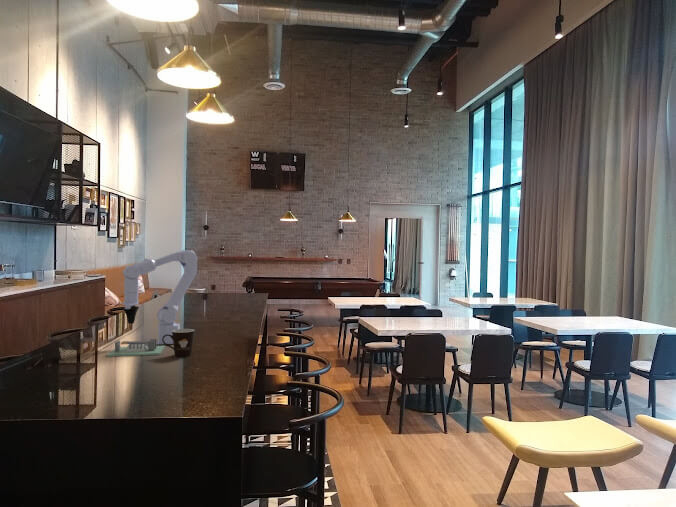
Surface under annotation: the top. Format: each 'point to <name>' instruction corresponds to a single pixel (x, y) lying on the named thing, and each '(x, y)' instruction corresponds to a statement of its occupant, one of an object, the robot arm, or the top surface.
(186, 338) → the coffee mug
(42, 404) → the top surface
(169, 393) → the top surface
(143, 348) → the heatsink board
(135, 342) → the brown and grey bar
